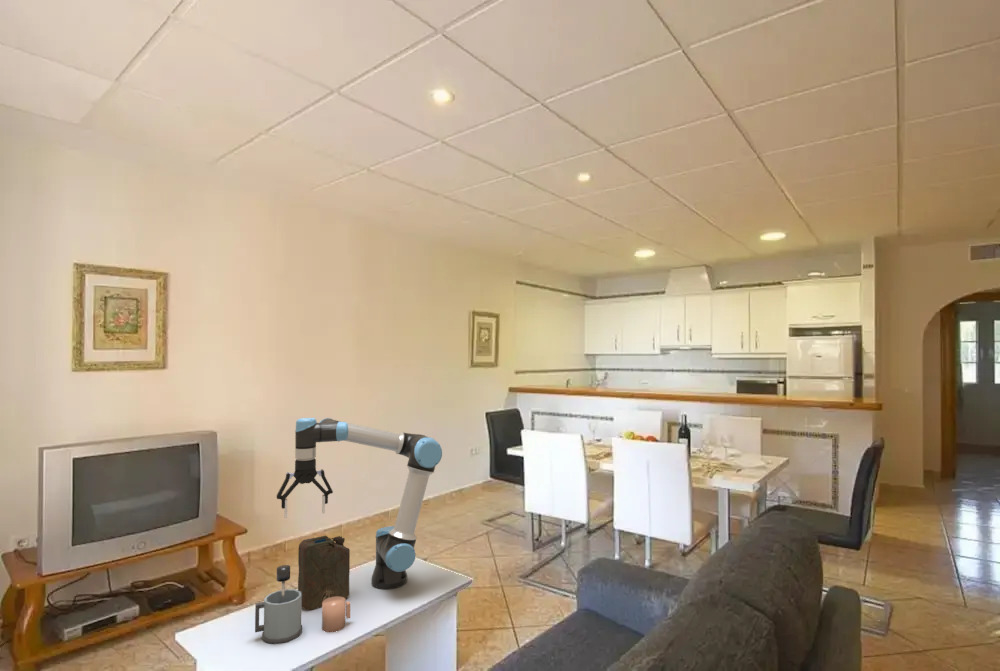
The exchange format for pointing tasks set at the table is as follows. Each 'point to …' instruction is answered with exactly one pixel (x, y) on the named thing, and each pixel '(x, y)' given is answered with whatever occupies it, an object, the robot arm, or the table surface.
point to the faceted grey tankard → (280, 617)
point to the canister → (323, 570)
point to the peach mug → (334, 613)
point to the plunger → (283, 578)
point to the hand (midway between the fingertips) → (304, 514)
